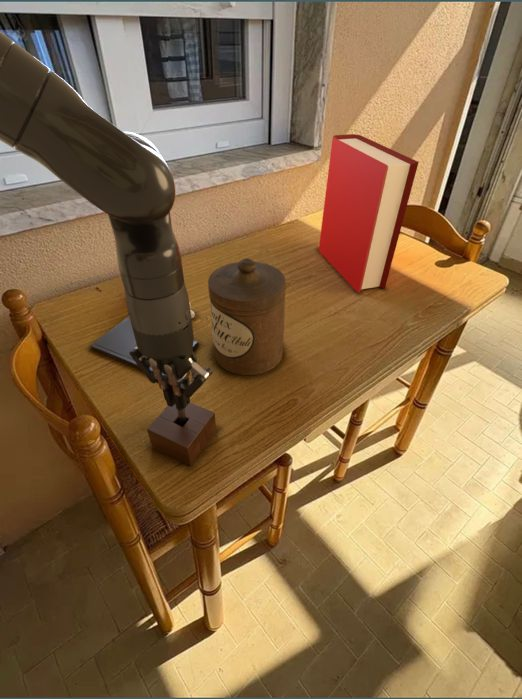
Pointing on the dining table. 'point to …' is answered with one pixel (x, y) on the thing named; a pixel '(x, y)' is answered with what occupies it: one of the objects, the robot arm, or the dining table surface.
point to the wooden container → (247, 316)
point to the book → (364, 208)
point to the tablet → (120, 343)
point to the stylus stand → (182, 432)
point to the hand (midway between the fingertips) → (178, 404)
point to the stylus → (182, 417)
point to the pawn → (192, 313)
